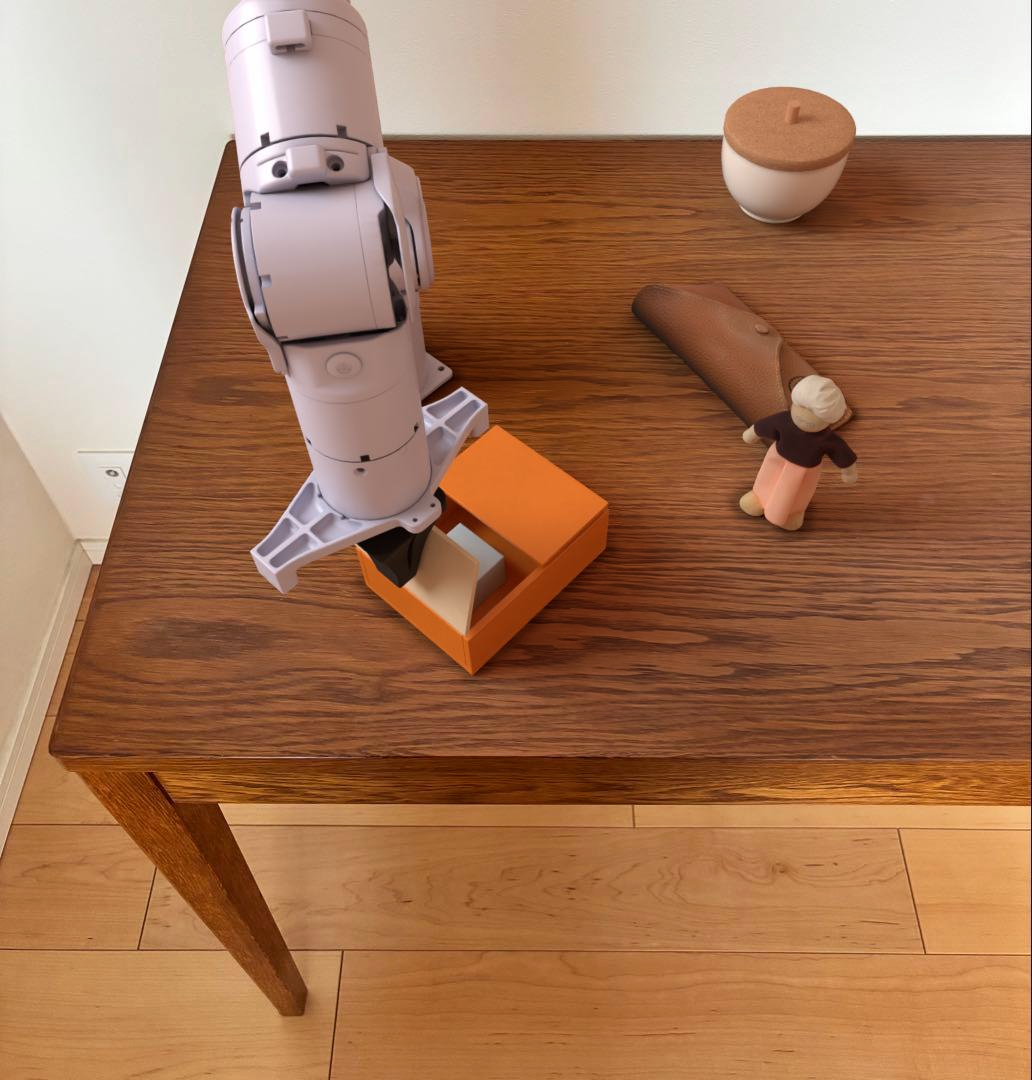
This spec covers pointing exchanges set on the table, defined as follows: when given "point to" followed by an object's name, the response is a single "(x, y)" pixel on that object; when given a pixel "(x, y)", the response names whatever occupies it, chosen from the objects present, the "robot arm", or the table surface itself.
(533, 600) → the orange flip-lid box
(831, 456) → the grandmother figurine
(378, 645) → the table surface
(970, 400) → the table surface
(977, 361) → the table surface
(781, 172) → the trinket box
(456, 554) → the flap
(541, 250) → the table surface
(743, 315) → the sunglasses case
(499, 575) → the pale grey cuboid
